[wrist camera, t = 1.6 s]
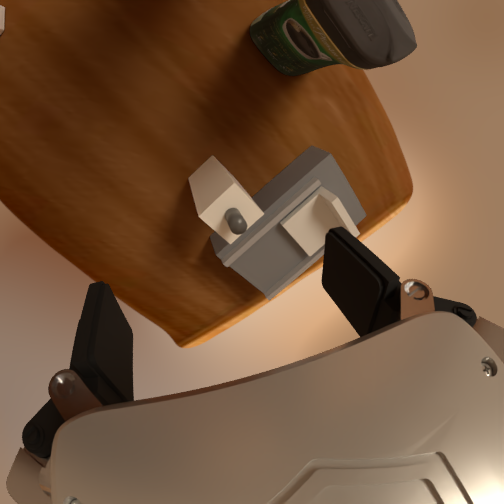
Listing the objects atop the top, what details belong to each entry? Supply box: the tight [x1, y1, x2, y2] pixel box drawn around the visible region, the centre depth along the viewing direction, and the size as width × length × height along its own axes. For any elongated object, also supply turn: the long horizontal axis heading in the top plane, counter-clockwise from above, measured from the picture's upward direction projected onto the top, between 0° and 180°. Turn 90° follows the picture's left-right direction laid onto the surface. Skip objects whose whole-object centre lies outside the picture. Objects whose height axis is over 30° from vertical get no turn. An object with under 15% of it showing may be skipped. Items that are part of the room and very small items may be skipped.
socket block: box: [210, 146, 367, 300], centre depth 37 cm, size 19×12×6 cm, turn 130°
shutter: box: [280, 186, 360, 256], centre depth 33 cm, size 7×7×4 cm
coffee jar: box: [250, 0, 417, 76], centre depth 18 cm, size 10×8×19 cm
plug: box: [188, 155, 264, 244], centre depth 28 cm, size 4×4×14 cm
